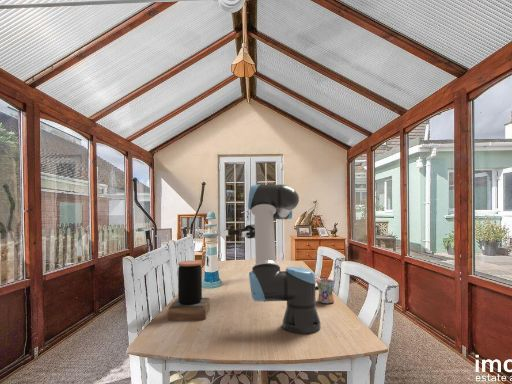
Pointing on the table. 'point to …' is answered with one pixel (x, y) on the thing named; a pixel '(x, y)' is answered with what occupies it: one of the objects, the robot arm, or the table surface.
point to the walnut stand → (189, 310)
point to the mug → (325, 290)
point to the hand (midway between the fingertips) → (230, 234)
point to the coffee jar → (189, 282)
